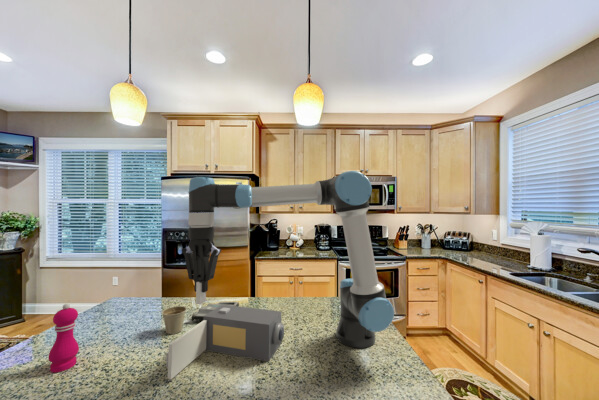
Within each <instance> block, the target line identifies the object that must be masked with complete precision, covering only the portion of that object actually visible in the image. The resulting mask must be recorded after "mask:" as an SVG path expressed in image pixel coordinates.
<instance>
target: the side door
mask: <svg viewBox="0 0 599 400" xmlns="http://www.w3.org/2000/svg"><path fill="white" fill-rule="evenodd" d="M206 332H207V320H201V322H199V323H197V324H196V325H194V326H193V327H192V328H190V329H189V330H187V331H186V332H184V333H182V334H181V335H179V336H178V337H177V338H175V339H174V340H172V341H171V342H169V343H168V346H167V347H168V348H167V349H168V351H167V352H166V358H165V359H166V362H165V368H167V379H168V380H173V379H174V377H176V376H177V375H179V373H181V371H183V370H184V369H185V368H186V367H187V366H189V364H190V363H192V362H194V360H195V359H196V358H198V357H199V356H200V355H201V354H202V353H203V352H205V351H207V350H206Z"/></svg>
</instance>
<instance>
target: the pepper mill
mask: <svg viewBox="0 0 599 400" xmlns="http://www.w3.org/2000/svg"><path fill="white" fill-rule="evenodd" d="M78 317H79V312H78V310H77V309H76V308H74V307H71V305H70V304H69V303H65V304H63V305H62V309H60V310H58V311H57V312H55V314H54V315H53V318H52V322H53V324H54V325H55V326H54V332H56V336H55V337H56V338H55V341H54V343H53V345H52V347H51V349H50V351H49V352H48V353H49V354H48V357H47V358H48V361H50V365H49V372H50V373H56V374H57V373H61V372H63V371H67V370H70V369H72V368H73V367H74V366H75V365H76V364H77V354H78V353H79V352H80V351H79V350H80V348H79V347H80V345H79V343H78V342H77V340H76V338H75V336H74V329H75V328H76V327H77V326H76V323H77V322H76V320H77V319H78Z"/></svg>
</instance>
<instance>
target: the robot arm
mask: <svg viewBox="0 0 599 400" xmlns="http://www.w3.org/2000/svg"><path fill="white" fill-rule="evenodd" d="M188 185H189V188H188V193H187V194H188V226H189V228H188V240H189V242H188V246H186V247H185V248H181V252H182V254H183V256H184V261H185V265H186V271H187V276H188V279H189V280H192V281H193V282H194V283H193V286H194V292H195V296H196V297H195V300H196V301H195V304H196V305H201V304H204V303H205V302H206V300H207V292H208V289H209V281H210V280H213V279H214V278H215V274H216V269H217V262H218V259H219V256H220V255H221V252H222V249H221V248H217V247H216V246H215V243H214V238H215V227H214V224H215V208H216V209H217V208H219V209H220V208H228V209H229V208H230V209H231V208H232V209H237V210H239V209H245V208H254V207H255V208H257V207H270V206H271V207H272V206H286V205H288V206H290V205H301V204H303V205H304V204H316V205H317V206H325V205H326V206H334V208H335V213H336V215H338V216H340V218H341V222H342V228H343V234H344V240H345V245H346V249H347V256H348V261H349V268H350V272H351V273H350V274H351V278H345V279H342V280H341V281H340V285H339V286H340V287H339V291H340V293H339V294H340V297H339V298H340V300H339V301H340V307H339V308H340V316H339V317H340V318H339V320H338V324H337V327H336V332H335V333H336V334H335V335H336V337H335V338H336V340H337V341H338V342H339V343H341V344H342V345H345V346H347V347H351V348H354V349H355V348H357V349H358V348H359V349H364V348H369V347H371V346H373V345H374V344H376V343H375V342H376V333H379V332H383V331H385V330H386V329H387V328H389V326H390V324H391V323H392V322H393V320H394V318H395V317H394V316H395V310H394V306H393V304H392V303H391V301H390V300H389V299H387V295H386V290H385V286H384V284H383V283H382V282H380V281H379V278H378V273H377V272H378V271H377V267H376V262H375V255H374V251H373V244H372V239H371V234H370V228H369V223H368V217H367V212H368V211H369V209H370V202H369V199H370V197H371V195H372V189H373V187H372V184H371V181H370V180H369V178H368V177H367V175H365V174H364V173H362V172H360V171H357V170H348V171H345V172H342V173H340V174H338V175H336V176H334V177H331V178H328V179H324V180H317V181H315V182H314V183H306V184H305V183H304V184H286V185H285V184H284V185H271V186H268V185H267V186H253V187H252V186H251V185H250V184H243V183H238V184H219V183H218V184H216V183H215V180H214V178H213V177H204V176H198V177H197V176H196V177H192V178H191V179H190V180H189V184H188Z"/></svg>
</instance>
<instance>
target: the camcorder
mask: <svg viewBox="0 0 599 400" xmlns="http://www.w3.org/2000/svg"><path fill="white" fill-rule="evenodd" d="M221 305H230V306H239V307H240V303H239V301H219V302H216V303H207V305H206V306H201V307H200V308H199V309H198V312H197V313H196V312H193V313H192V315H191V318H190V319H191V321H195V320H196V321H203V316H204V315H206V314H208V313H209V312H211V311H213V310H214V309H216V308H217V307H219V306H221Z"/></svg>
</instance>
